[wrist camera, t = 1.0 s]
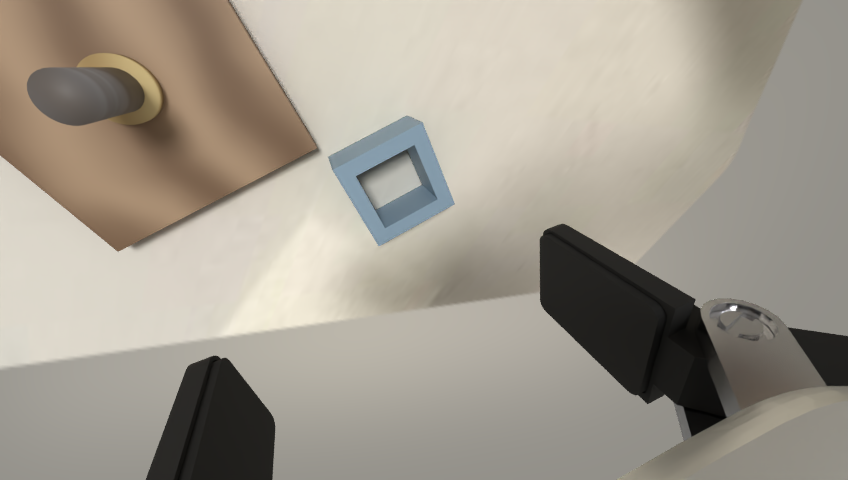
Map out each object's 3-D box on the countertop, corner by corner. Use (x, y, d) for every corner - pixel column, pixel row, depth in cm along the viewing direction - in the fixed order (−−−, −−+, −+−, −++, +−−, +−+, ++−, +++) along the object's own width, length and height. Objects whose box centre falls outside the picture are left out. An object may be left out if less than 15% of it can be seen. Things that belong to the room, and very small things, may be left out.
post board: (147, -134, 17) (58, -252, 11) (316, 144, 26) (321, 168, 19) (-161, -3, 16) (-464, -49, 9) (127, 242, 24) (68, 302, 18)
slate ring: (407, 115, 27) (422, 122, 24) (437, 189, 31) (454, 204, 28) (328, 156, 26) (332, 169, 23) (370, 226, 30) (378, 246, 27)
